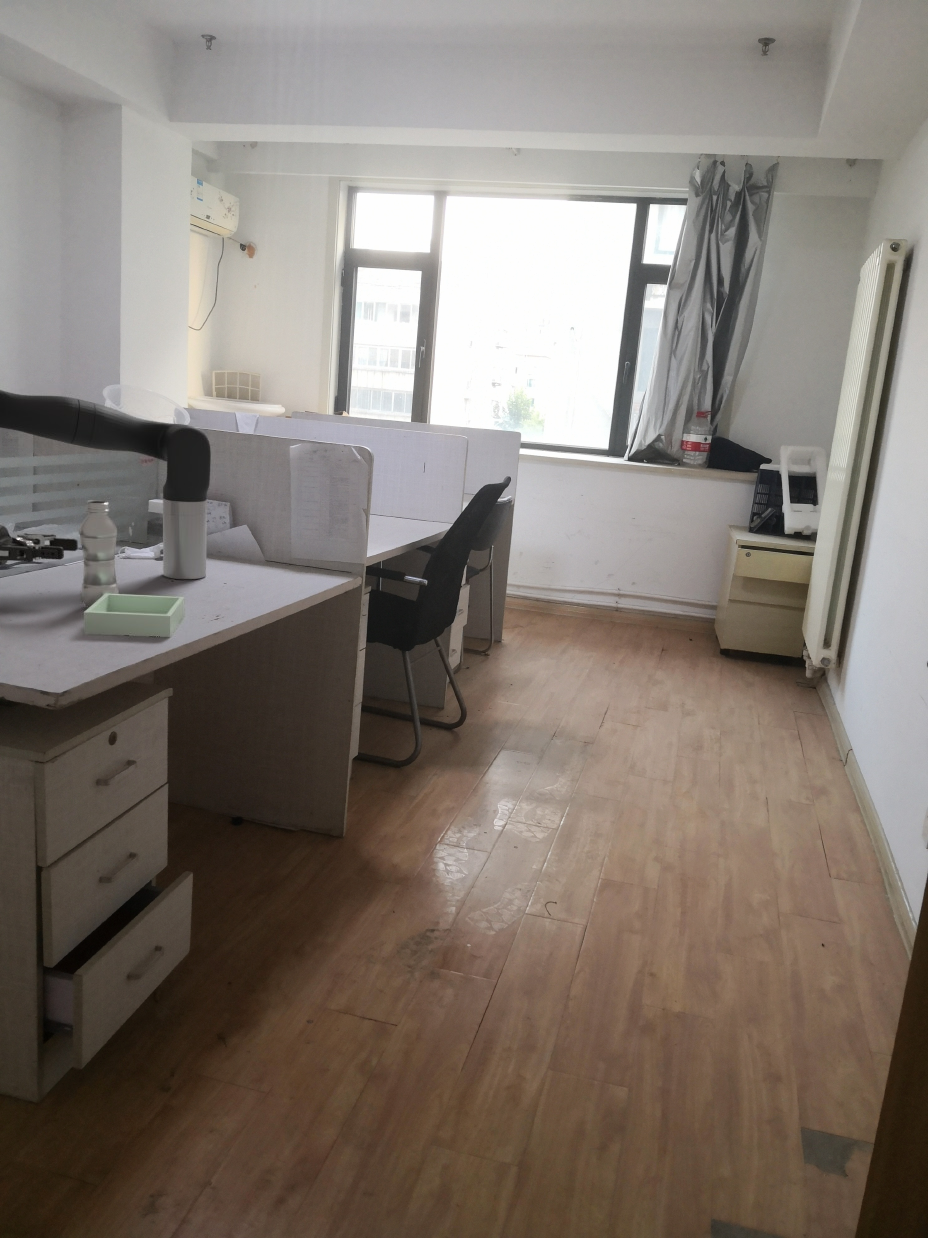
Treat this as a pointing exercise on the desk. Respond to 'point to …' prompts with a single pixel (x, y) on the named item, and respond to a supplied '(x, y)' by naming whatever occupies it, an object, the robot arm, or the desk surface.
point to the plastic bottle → (98, 553)
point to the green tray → (134, 615)
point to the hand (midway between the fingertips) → (70, 549)
